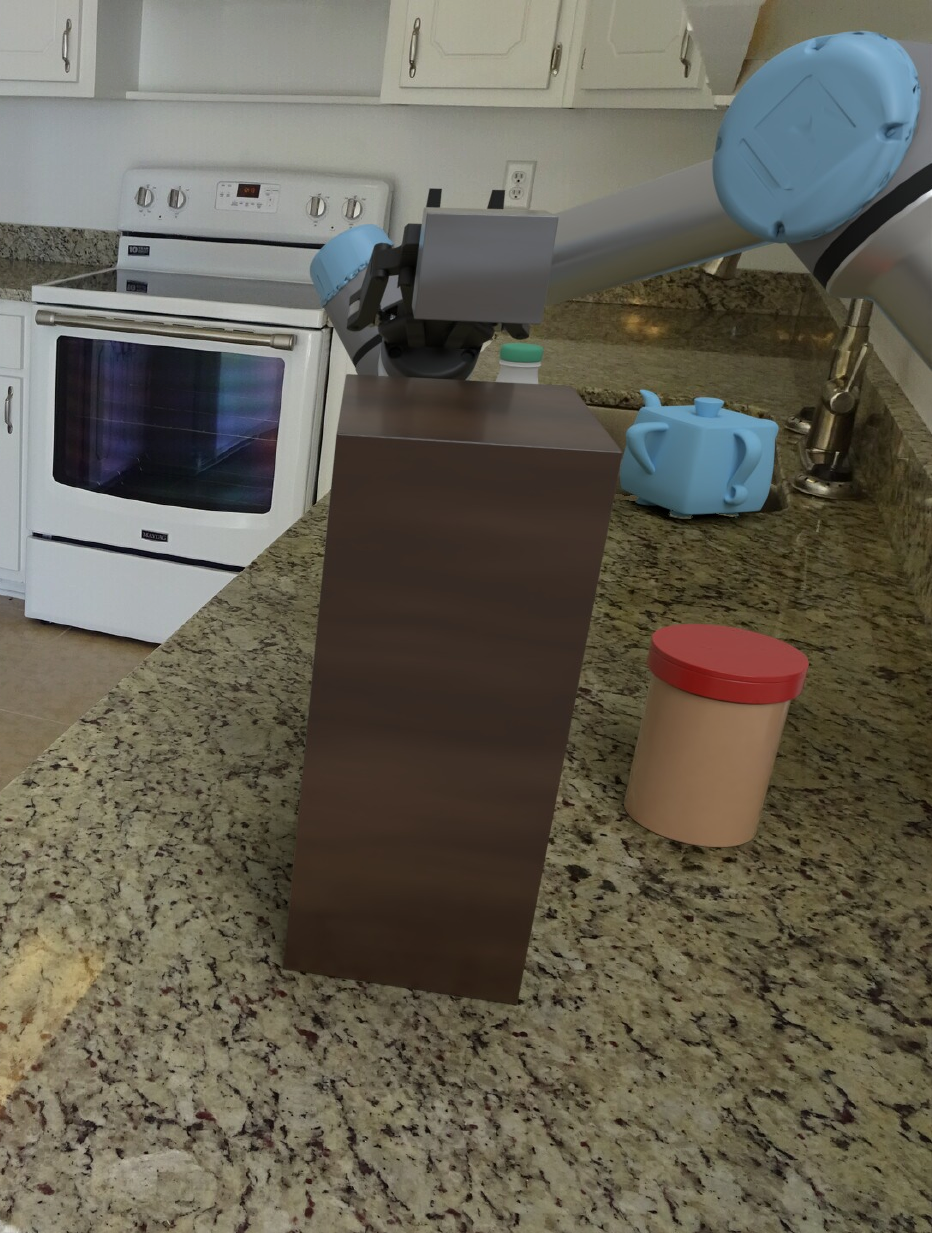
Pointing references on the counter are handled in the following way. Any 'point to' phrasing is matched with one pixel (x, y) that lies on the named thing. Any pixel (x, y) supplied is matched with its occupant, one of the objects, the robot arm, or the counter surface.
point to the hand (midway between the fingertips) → (465, 210)
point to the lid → (727, 663)
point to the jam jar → (702, 766)
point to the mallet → (484, 265)
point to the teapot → (698, 458)
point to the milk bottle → (519, 363)
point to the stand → (444, 677)
